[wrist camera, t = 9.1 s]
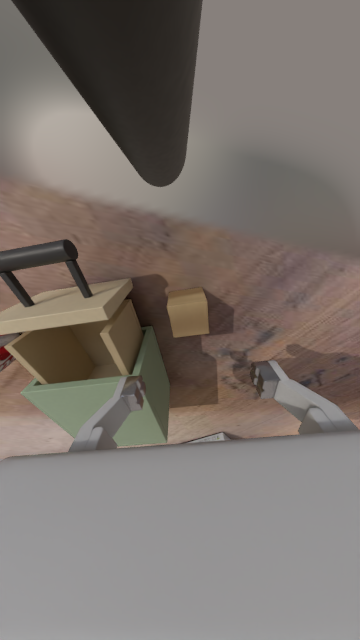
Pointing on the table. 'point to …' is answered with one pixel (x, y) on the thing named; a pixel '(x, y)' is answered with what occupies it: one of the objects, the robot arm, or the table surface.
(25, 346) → the drawer
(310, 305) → the table surface
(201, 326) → the block
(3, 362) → the soda can
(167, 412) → the cabinet
